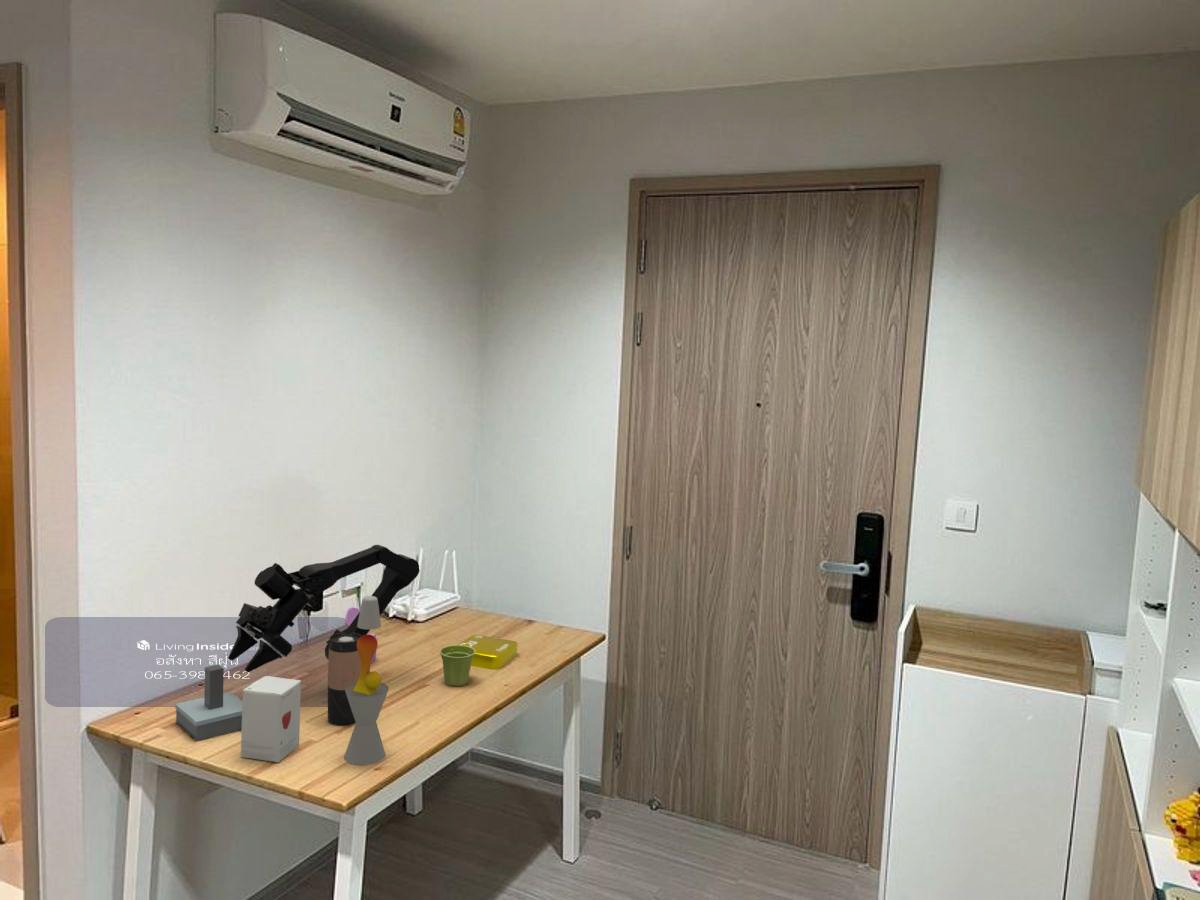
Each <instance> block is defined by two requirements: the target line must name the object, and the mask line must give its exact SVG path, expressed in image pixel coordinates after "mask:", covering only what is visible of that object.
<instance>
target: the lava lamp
mask: <svg viewBox="0 0 1200 900" xmlns="http://www.w3.org/2000/svg"><path fill="white" fill-rule="evenodd" d="M359 610H360V614H359V619H358V624H357V627H358V628H360V629H370V630H377V629H379V628H381V627H382V622H381V615H380V614H379V606H378V599H377V598H376V597H374V596H372V595H367V596H364V597H363V598H362V600H361V605H360V609H359ZM369 634H370V633H368V634H366V635H363V636H361V637H360V638H359V639H358V641H357V649H358V653H359V656H360V661H361V671H360V676H359V679H358V682H357V683H353V684H351V685H349V686H347V687H346V689H345V692H346V695H347V698H348V701H349V704H350V707H351V710H352V713H353V716H354V719H355V722H356V723H354V728H353V731H352V732H351V736H350V739H349V741H348V744H347V747H346V751H345V753H344V755H343V758H344V760H345V762H347V763H349V764H352V765H357V766H368V765H374V764H378V763H379V762H381V761H383V760H384V759H385V758H386V755H387V754H386V751H385V747H384V744H383V740H382V737H381V734H380V730H379V727H378V723H377V721H378V718H379V717H380V713H381V710H382V707H383V705H384V704H385V701H386V698H387V695H388V692H389V690H390V688H389V685H387V684H386V683H383V682H382V680H383V679H382V678H383V677H382V675H381V674H380V673H379V672H378V671H374V670H373V671H371V665H372V663H371V661H372V658H373V655H374V653H375V651H376V652H377V650H376V649H377V648H378V639H377V640H376V638H377V637H376V638H375V637H374V636H372V635H369Z"/></svg>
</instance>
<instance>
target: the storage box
mask: <svg viewBox="0 0 1200 900" xmlns="http://www.w3.org/2000/svg"><path fill="white" fill-rule="evenodd" d="M175 710H176V711H175V713H176V714H175V718H176V719H175V722H176V724H177V725H178V726H179V727H180V728H181V729H182V730H184V731H185V732H186V734H187V735H189V736H190V737H191V738H192V737H193V738H192V739H193V740H194V741H196V742H198V741H203V740H208V739H211V738H215V737H218V736H224V735H226V734H229V733H235V732H237V731H242V715H241V716H237V717H233V718H228V719H224V720H220V721H216V722H212V723H208V724H204V725H200V726H195V725H194V724H193V723H192V722H190V721H189V720H188V719H187V718H186V717H185V716H184V715H182V714H181V713H180V712H179V711H178V710H177V709H176V708H175Z"/></svg>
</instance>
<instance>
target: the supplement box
mask: <svg viewBox="0 0 1200 900" xmlns="http://www.w3.org/2000/svg"><path fill="white" fill-rule="evenodd" d="M301 687H302V680H300V679H292V678H285V677H284V678H283V677H277V676H270V675H265V676H263V677H261V678H260V679H258V680H256V681H254V682H253V683H251V684H250V685H249V686H247V687H246V688H244V689H242V699H241V700H242V730H241V735H240V736H241V740H240V757H241V758H247V759H253V760H257V761H265V762H266V761H267V762H272V763H273V762H274V763H280V762H281V761H282V760H283V759H285V758H286V757H287V756H288V755H289V754H291V753H292V752H293V751H295V750H296V749H297V748H299V746H300V727H301V726H300V724H301V723H300V721H301V695H302V694H301V693H302V692H301V690H302V688H301Z"/></svg>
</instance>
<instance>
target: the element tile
mask: <svg viewBox="0 0 1200 900" xmlns="http://www.w3.org/2000/svg"><path fill="white" fill-rule="evenodd" d="M457 645H463V646H469V647H472V648H474V649H475V651H476V652H475V654H474V656H473V659H472V662H471V667H475V668H476V667H477V668H480V669H481V668H482V669H487V670H491V671H492V670H493V671H494V670H495V671H496V670H499V669H501V668H503V667H504V666H505V665H507V664H508V663H509V662H510V663H511V661H512V660H514V659H515V658H517V656H518V642H517V641H515V640H510V639H505V638H498V637H493V636H487V635H480V634H473V635H470V636H469V637H468V638H466V639H464V640H462V641H461V642H459V643H458V644H457Z"/></svg>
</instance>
